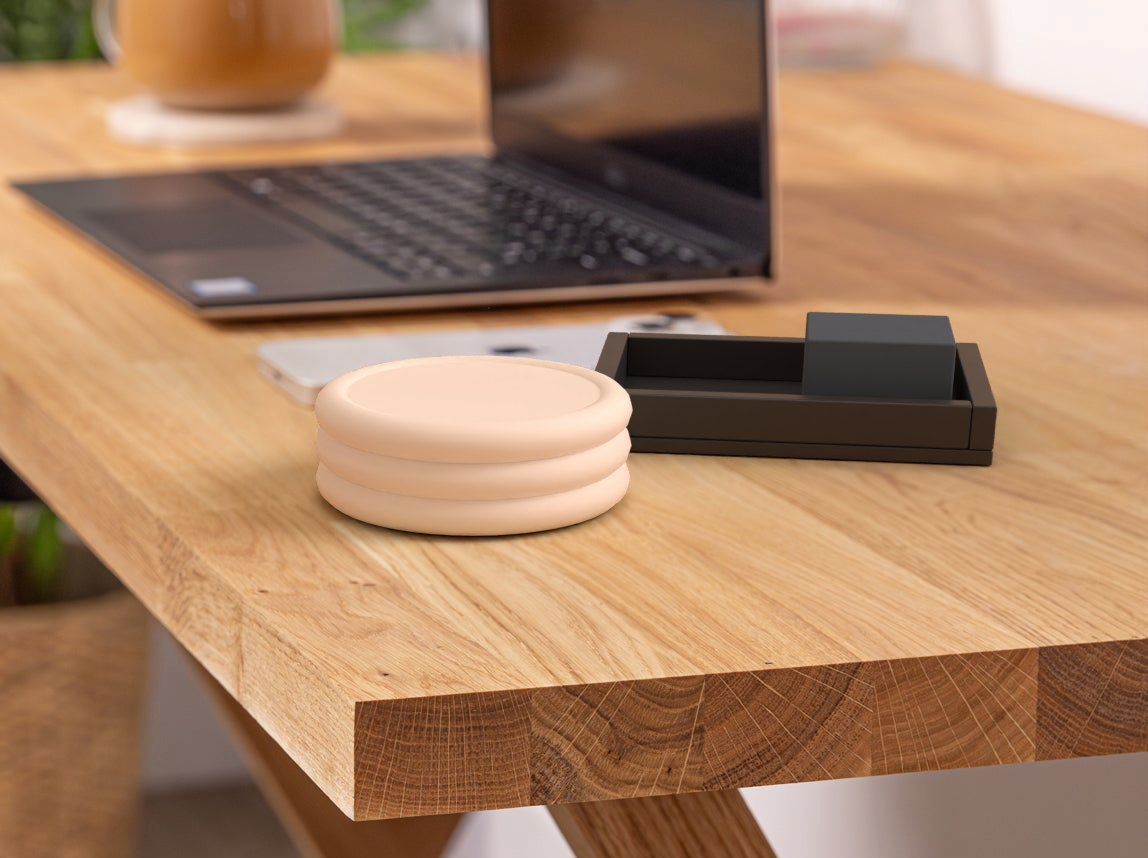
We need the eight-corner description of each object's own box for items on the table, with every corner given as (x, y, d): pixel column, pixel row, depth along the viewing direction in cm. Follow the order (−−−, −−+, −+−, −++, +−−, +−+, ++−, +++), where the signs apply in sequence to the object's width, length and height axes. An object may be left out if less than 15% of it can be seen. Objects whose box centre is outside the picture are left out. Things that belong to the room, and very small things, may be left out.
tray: (972, 396, 84) (977, 342, 83) (992, 465, 75) (997, 406, 74) (606, 383, 86) (608, 331, 85) (584, 449, 77) (585, 392, 76)
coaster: (545, 440, 78) (547, 340, 77) (685, 518, 70) (690, 406, 68) (273, 472, 75) (270, 367, 73) (386, 557, 66) (385, 441, 65)
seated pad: (941, 397, 82) (948, 315, 80) (948, 430, 77) (957, 343, 76) (801, 392, 82) (806, 311, 81) (801, 424, 78) (807, 339, 77)
